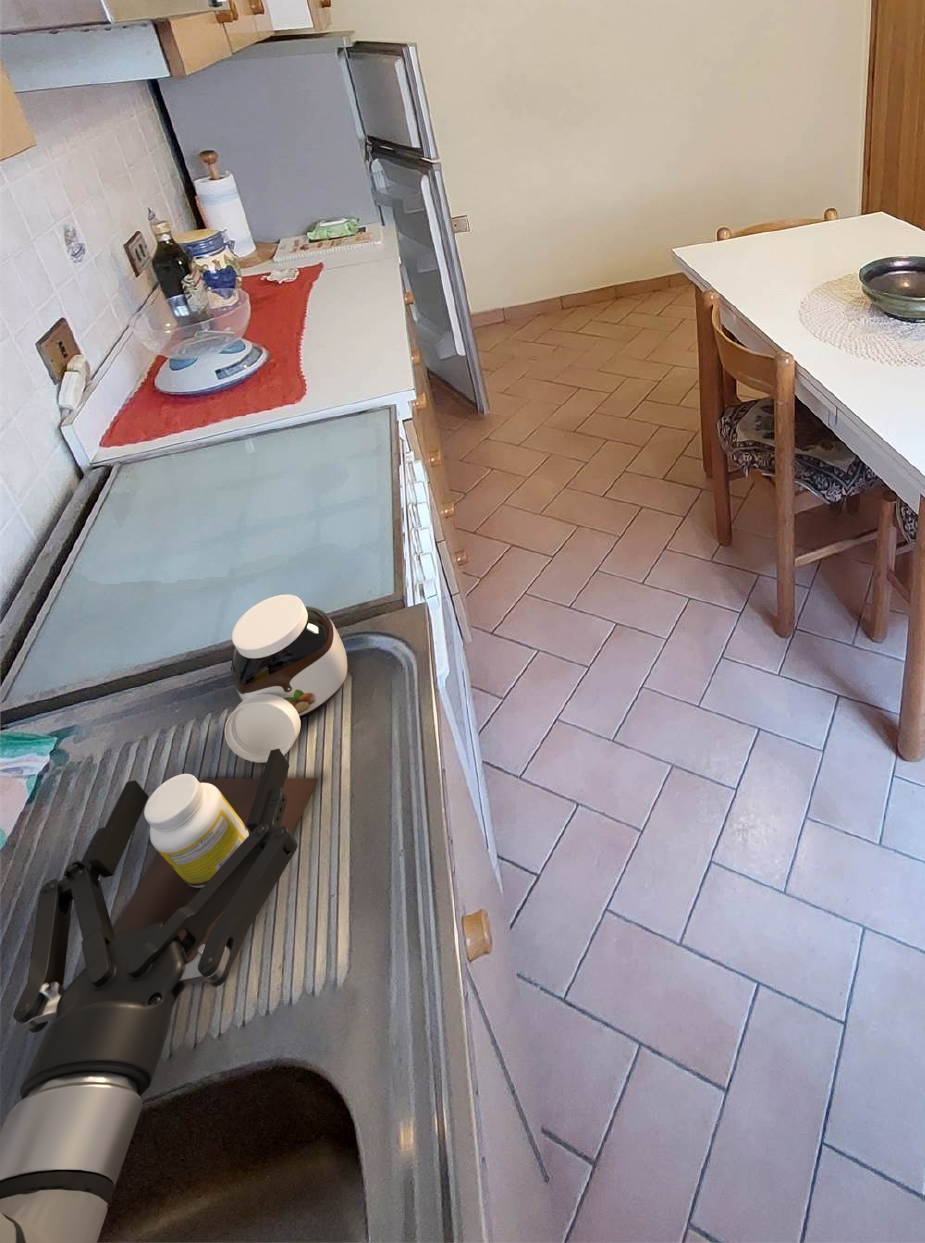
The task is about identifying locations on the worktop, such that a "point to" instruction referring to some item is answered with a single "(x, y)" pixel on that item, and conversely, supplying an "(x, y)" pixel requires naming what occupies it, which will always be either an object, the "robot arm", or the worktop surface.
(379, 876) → the worktop surface
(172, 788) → the supplement bottle
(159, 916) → the runner mat
